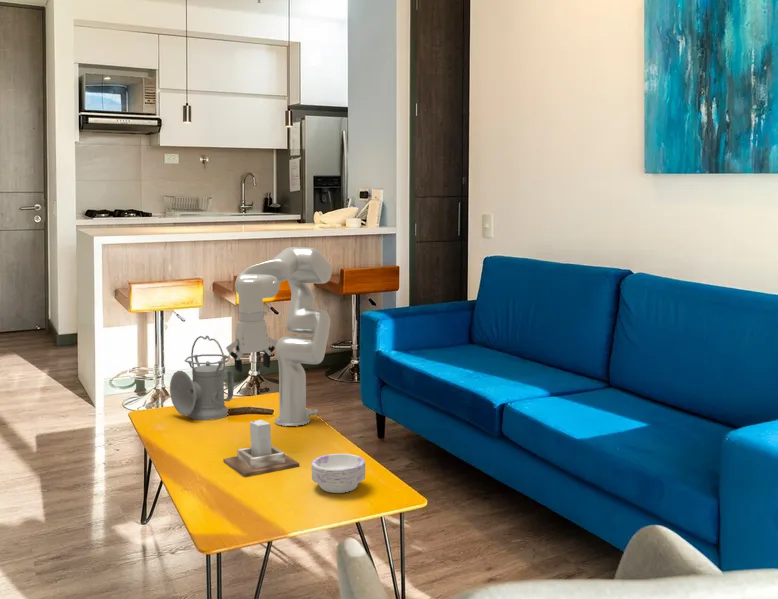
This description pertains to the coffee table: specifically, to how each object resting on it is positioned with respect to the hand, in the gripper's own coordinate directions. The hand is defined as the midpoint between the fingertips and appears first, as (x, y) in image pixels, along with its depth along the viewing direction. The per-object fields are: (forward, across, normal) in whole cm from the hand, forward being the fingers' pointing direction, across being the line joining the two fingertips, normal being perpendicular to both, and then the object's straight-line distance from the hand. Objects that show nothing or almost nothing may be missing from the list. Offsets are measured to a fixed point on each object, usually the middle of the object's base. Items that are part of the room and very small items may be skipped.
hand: (252, 369), depth 261 cm
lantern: (+28, -3, -46) cm, 53 cm away
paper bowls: (+25, -3, +46) cm, 53 cm away
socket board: (+26, +6, +16) cm, 31 cm away
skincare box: (+25, +6, +16) cm, 30 cm away
